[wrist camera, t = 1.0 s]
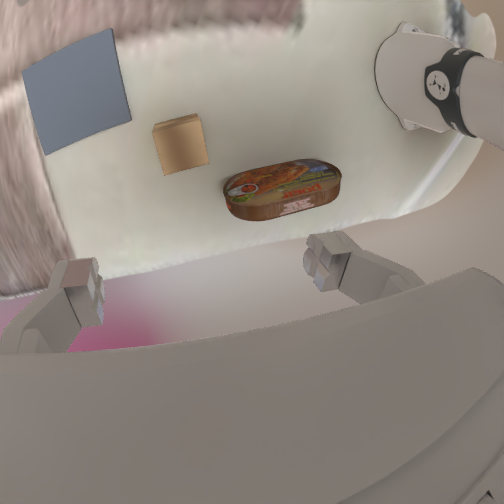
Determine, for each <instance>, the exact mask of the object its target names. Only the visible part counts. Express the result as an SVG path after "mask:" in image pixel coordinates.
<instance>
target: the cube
mask: <svg viewBox="0 0 504 504" xmlns="http://www.w3.org/2000/svg"><path fill="white" fill-rule="evenodd" d="M153 137H154V140H155V144H156V148H157V152H158V155H159V159H160V162H161V166H162V169H163V173H164V176H165V175H168V174H172V173H175V172H179V171H183V170H186V169H190V168H194V167H198V166H201V165H205V164H209V160H208V155H207V150H206V145H205V140H204V136H203V131H202V126H201V121H200V119H199V117H198V115H197V114H192V115H188V116H184V117H180V118H176V119H172V120H169V121H165V122H161V123H158V124H155V126H154V129H153Z"/></svg>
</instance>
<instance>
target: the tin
mask: <svg viewBox="0 0 504 504" xmlns="http://www.w3.org/2000/svg"><path fill="white" fill-rule="evenodd" d="M341 177H342V175H341V172H340V170H339V169H338V168H337V167H335V166H334V165H332V164H330V163H327V162H324V161H320V160H314V159H302V160H295V161H290V162H285V163H281V164H276V165H272V166H267V167H263V168H259V169H254V170H250V171H246V172H243V173H240V174H238V175H236V176H234V177H232V178H231V179H230V180H229V181H228V182H227V183H226V184H225V186H224V188H223V193H224V196H225V199H226V204H227V207H228V209H229V211H230V212H231V213H232V214H233V215H234V216H235V217H237V218H240V219H243V220H247V221H265V220H270V219H274V218H277V217H281V216H285V215H288V214H292V213H296V212H300V211H303V210H307V209H311V208H314V207H318V206H322V205H325V204H328V203H330V202H332V201H333V200H335V199H336V198H337V196H338V195H339V191H340V181H341Z"/></svg>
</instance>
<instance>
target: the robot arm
mask: <svg viewBox="0 0 504 504" xmlns="http://www.w3.org/2000/svg"><path fill="white" fill-rule="evenodd" d="M412 31H413V32H412ZM375 73H376V81H377V86H378V89H379V92H380V94H381V97H382V99H383V100H384V102H385V103H386V105H387V106H388V107H389V108H390V109H391V110H392V111H393V112H394V113H395V114H396V115H397V116H398V118H399V120H400V122H401V124H402V126H403V128H404V129H406V130H410V131H411V130H415V129H418V128H421V127H425V128H428V129H431V130H433V131H436V132H439V133H443V132H444V131H449V130H451V129H455V130H457V131H458V132H460V133H462V134H464V135H467V136H470V137H473V138H476V137H479V138H481V139H483V140H485V141H487V142H489V143H490V144H492V145H494V146H496V147H498V148H500V149H501V150H503V151H504V62H501V61H497V60H493V59H489V58H486V57H484V56H483V55H482V54H480V53H477V52H474V51H472V50H469V49H461V48H460V45H459V44H458V43H456V42H453V41H451V40H450V39H449V38H446V37H444V36H440V35H434V34H429V33H427V32H425V31H424V30H422V29H420V28H418V27H417V26H415V25H413V24H411V23H408V22H402V23H401V24H400V26H399V27H398V29H397V32H396V33H395V34H394V35H392V36H391V37H389V38H388V39H387V40H386V41H385V42H384V43H383V44H382V46H381V47H380V50H379V52H378V55H377V59H376V67H375ZM307 246H308V249H307V250H306V251H305V253H304V258H303V264H304V268H305V271H306V272H307V274H308V275H310V276H312V277H314V281H313V282H314V283H315V285H316V286H317V287H318V289H319V290H320V291H321V292H325V291H330V290H336V289H339V291H341V292H342V293H344V294H346V295H347V296H349V297H350V298H352V299H353V300H355V301H356V302H358V303H360V305H356V306H353V307H349V308H345V309H341V310H338V311H333V312H330V313H326V314H322V315H317V316H313V317H310V318H305V319H300V320H296V321H292V322H287V323H283V324H278V325H273V326H269V327H264V328H259V329H254V330H248V331H243V332H238V333H233V334H227V335H221V336H215V337H210V338H203V339H196V340H190V341H183V342H176V343H168V344H161V345H152V346H143V347H133V348H124V349H113V350H99V351H83V352H66V351H67V350H68V348H69V347H70V345H71V344H72V342H73V340H74V339H75V337H76V336H77V334H78V333H79V331H80V330H81V327H89V326H98V325H102V323H103V312H104V311H103V308H102V305H103V303H104V302H105V288H104V283H103V279H102V277H101V276H100V275H99V274H98V270H99V265H98V262H97V259H96V258H95V257H91V258H81V259H71V260H62V261H58V262H57V264H56V266H55V269H54V271H53V274H52V277H51V280H50V282H49V285H48V288H47V290H43V291H42V292H41V293H40V294H39V295H38V296H37V297H36V298H34V300H32V301H31V302H30V303H29V304H28V305H27V306H26V307H25V308H24V309H23V310H22V311H21V312H20V313H19V314H18V315H17V316H16V317H15V318H14V319H13V320H12V321H11V322H10V323H9V324H8V325H7V326H6V327H5V328H4V330H3V333H2V336H1V339H0V504H504V284H503V283H501V282H500V281H499V280H498V279H496V278H495V277H493V276H491V275H490V274H488V273H486V272H484V271H482V270H480V269H477V268H469V269H466V270H463V271H461V272H458V273H456V274H453V275H450V276H448V277H445V278H442V279H439V280H436V281H434V282H430V283H427V284H426V283H425V282H424V281H423V280H422V279H421V278H420V277H419V276H418V275H417V274H416V273H415V272H414V271H413V270H411V269H409V268H406V267H404V266H402V265H400V264H397V263H395V262H393V261H390V260H388V259H386V258H383V257H381V256H379V255H376V254H374V253H372V252H369V251H366V250H364V251H363V250H362V249H361V248H360V247H359V246H358V245H357V244H356V243H355V242H354V241H353V240H352V239H351V238H350V237H349V236H348V235H347V234H346V233H344V232H343V231H334V232H328V233H319V234H311V235H309V237H308V239H307Z"/></svg>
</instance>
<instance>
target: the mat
mask: <svg viewBox="0 0 504 504" xmlns="http://www.w3.org/2000/svg"><path fill="white" fill-rule="evenodd" d="M22 75H23V80H24V84H25V89H26V93H27V97H28V101H29V105H30V109H31V113H32V116H33V120H34V123H35V126H36V130H37V133H38V136H39V139H40V142H41V145H42V148H43V151H44V154H45V156H46V155H48V154H50V153H52V152H54V151H56V150H58V149H60V148H63V147H65V146H67V145H69V144H71V143H74V142H76V141H78V140H80V139H83V138H85V137H88V136H90V135H92V134H95V133H97V132H100V131H103V130H105V129H108V128H111V127H113V126H116V125H119V124H122V123H125V122H127V121H130V120H132V118H131V114H130V110H129V106H128V102H127V98H126V94H125V89H124V85H123V81H122V76H121V72H120V67H119V62H118V57H117V52H116V47H115V41H114V36H113V30H112V29H111V28H110V29H107V30H105V31H102V32H100V33H97V34H94V35H92V36H90V37H87V38H85V39H83V40H80V41H78V42H76V43H74V44H71V45H69V46H67V47H65V48H63V49H61V50H59V51H57V52H55V53H53V54H51V55H50V56H48V57H46V58H44V59H42V60H40V61H39V62H37V63H35V64H34V65H32V66H30V67H29V68H27V69H25V70H24V71H22Z"/></svg>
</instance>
